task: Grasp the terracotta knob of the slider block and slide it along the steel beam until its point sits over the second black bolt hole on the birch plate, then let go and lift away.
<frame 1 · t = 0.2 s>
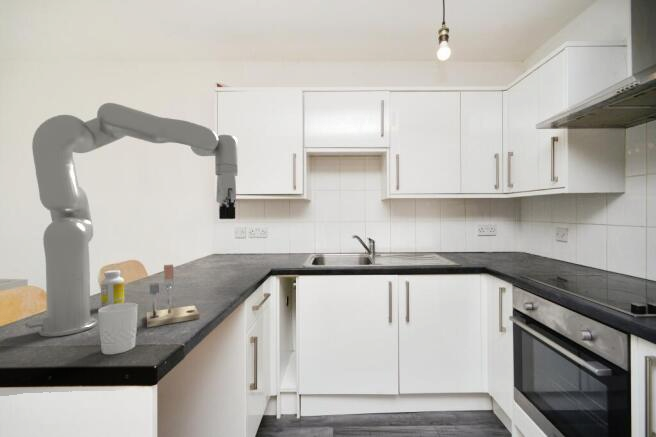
hand: (227, 218, 111), 31 cm above the countertop, tool pointing down, fingers open, 9 cm apart
divider frame: (174, 297, 97), on the hole plate, point 7 cm above the countertop
supplement bottle: (113, 308, 109), on the countertop
white cup: (119, 349, 75), on the countertop
slider block: (168, 288, 97), point 9 cm above the countertop, slide at 4.0 cm
hole plate: (172, 317, 98), on the countertop
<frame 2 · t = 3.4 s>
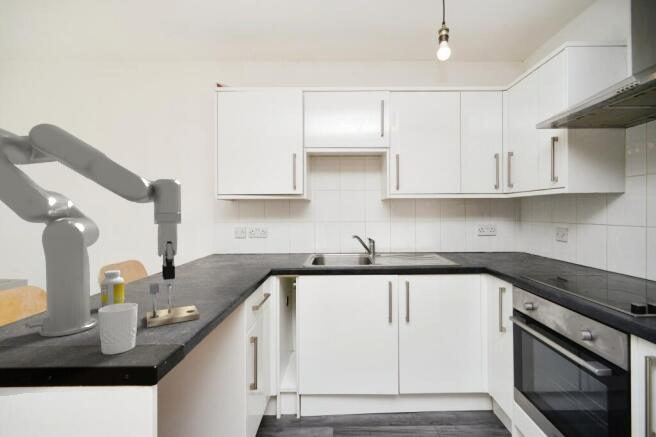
hand: (168, 277, 97), 13 cm above the countertop, tool pointing down, fingers closed on slider block, 3 cm apart
slider block: (168, 288, 97), point 9 cm above the countertop, slide at 4.0 cm, touching gripper
everything else where it was.
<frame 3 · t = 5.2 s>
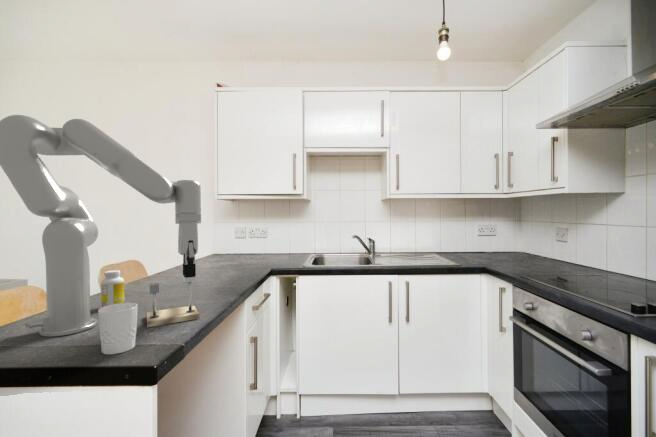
hand: (189, 275, 100), 13 cm above the countertop, tool pointing down, fingers closed on slider block, 3 cm apart
slider block: (189, 286, 100), point 9 cm above the countertop, slide at 9.9 cm, touching gripper
everything else where it was.
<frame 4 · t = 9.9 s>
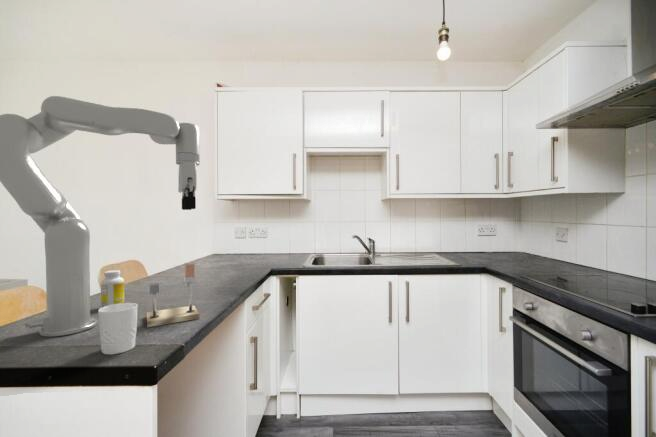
hand: (188, 209, 108), 34 cm above the countertop, tool pointing down, fingers open, 9 cm apart
slider block: (189, 286, 100), point 9 cm above the countertop, slide at 10.0 cm
everything else where it was.
at the end: slider block slide at 10.0 cm; the gripper is holding nothing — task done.
